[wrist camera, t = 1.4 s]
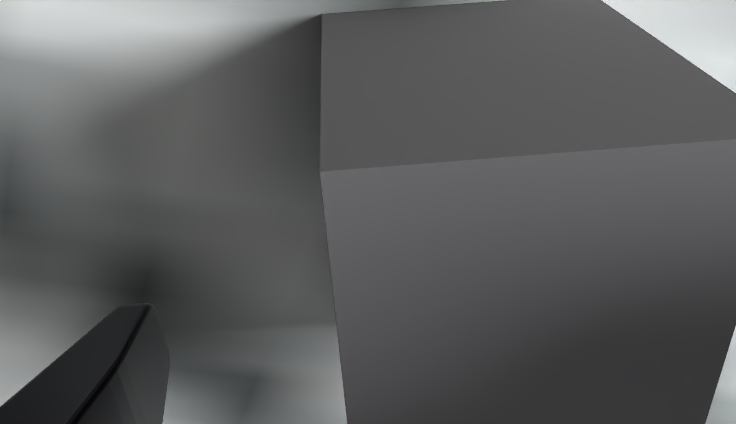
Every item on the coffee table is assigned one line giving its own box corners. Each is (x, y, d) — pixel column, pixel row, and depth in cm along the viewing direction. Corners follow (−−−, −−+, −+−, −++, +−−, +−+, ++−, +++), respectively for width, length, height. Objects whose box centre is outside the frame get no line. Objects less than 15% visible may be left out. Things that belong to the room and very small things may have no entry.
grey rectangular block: (553, 304, 13) (666, 548, 9) (351, 321, 13) (364, 575, 9) (589, -8, 10) (793, 134, 6) (321, 13, 10) (319, 171, 5)
